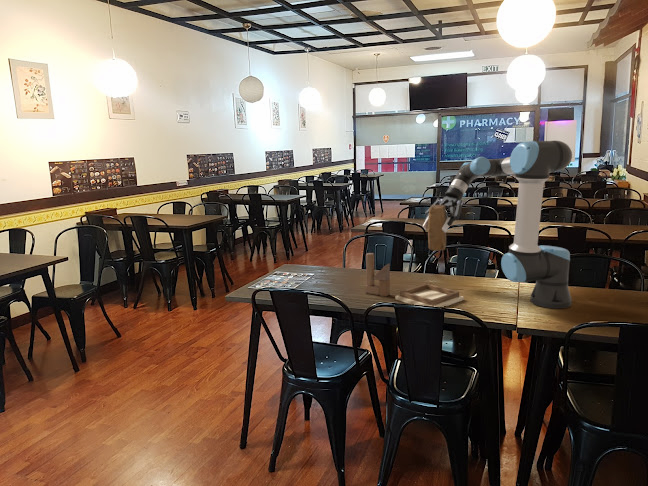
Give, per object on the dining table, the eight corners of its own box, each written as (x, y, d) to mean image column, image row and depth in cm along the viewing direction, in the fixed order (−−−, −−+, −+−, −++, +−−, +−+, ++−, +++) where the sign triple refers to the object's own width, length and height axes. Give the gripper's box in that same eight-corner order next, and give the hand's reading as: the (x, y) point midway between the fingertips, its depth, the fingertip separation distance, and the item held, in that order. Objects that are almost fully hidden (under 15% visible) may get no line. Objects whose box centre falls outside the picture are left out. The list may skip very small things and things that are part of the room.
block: (444, 251, 217) (444, 207, 213) (427, 251, 220) (427, 206, 216) (447, 246, 227) (447, 203, 223) (431, 246, 230) (431, 203, 226)
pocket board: (463, 300, 205) (463, 292, 204) (432, 310, 193) (433, 302, 192) (426, 289, 221) (426, 282, 220) (395, 299, 208) (395, 291, 208)
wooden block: (386, 296, 212) (386, 256, 209) (364, 293, 218) (364, 253, 215) (390, 294, 215) (390, 254, 212) (368, 291, 221) (368, 252, 218)
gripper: (480, 198, 219) (458, 237, 213) (439, 195, 237) (418, 231, 230) (474, 187, 215) (451, 227, 209) (432, 185, 233) (410, 221, 226)
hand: (433, 229), depth 219 cm, fingers closed on block, 10 cm apart
